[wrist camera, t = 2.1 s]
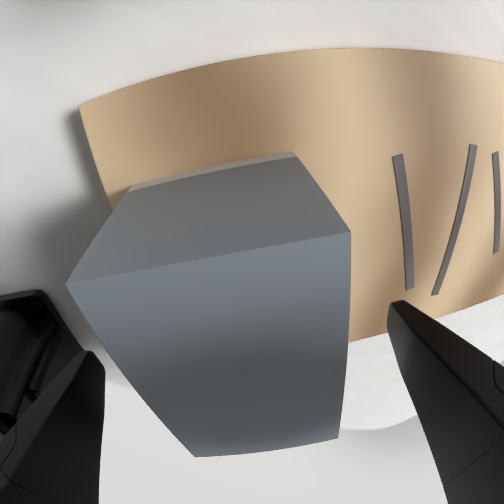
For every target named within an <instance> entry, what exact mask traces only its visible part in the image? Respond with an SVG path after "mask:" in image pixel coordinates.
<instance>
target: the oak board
mask: <svg viewBox="0 0 504 504" xmlns="http://www.w3.org/2000/svg"><path fill="white" fill-rule="evenodd" d="M78 107H79V110H80V114H81V118H82V121H83V125H84V128H85V132H86V135H87V138H88V142H89V145H90V148H91V151H92V155H93V158H94V161H95V164H96V167H97V170H98V173H99V176H100V179H101V182H102V185H103V187H104V190H105V193H106V196H107V199H108V201H109V204H110V207H111V209H112V212H113V210H114V209H115V208H116V206H117V205H118V204H119V202H120V201H121V200H122V198H123V197H124V196H125V194H126V193H127V192H128V190H129V189H130V188H131V186H132V185H134V184H138V183H142V182H146V181H150V180H153V179H157V178H161V177H166V176H170V175H174V174H178V173H182V172H187V171H191V170H196V169H200V168H205V167H209V166H214V165H219V164H224V163H229V162H234V161H239V160H244V159H250V158H255V157H261V156H267V155H273V154H279V153H285V152H291V151H293V152H294V153H295V154H296V156H297V157H298V158H299V159H300V161H301V162H302V163H303V165H304V166H305V167H306V169H307V170H308V171H309V173H310V174H311V175H312V177H313V178H314V180H315V181H316V182H317V184H318V185H319V186H320V188H321V189H322V190H323V192H324V193H325V195H326V196H327V197H328V199H329V200H330V202H331V203H332V205H333V206H334V207H335V209H336V210H337V212H338V213H339V215H340V216H341V217H342V219H343V220H344V222H345V223H346V225H347V226H348V228H349V229H350V231H351V295H350V319H349V337H348V342H352V341H356V340H360V339H364V338H368V337H372V336H376V335H380V334H384V333H387V332H388V330H387V325H386V322H387V316H388V309H389V305H390V303H391V302H394V301H398V300H405V301H407V302H408V303H410V304H411V305H413V306H414V307H416V308H418V309H419V310H421V311H422V312H424V313H425V314H427V315H428V316H430V317H431V318H433V319H435V318H438V317H441V316H444V315H447V314H450V313H453V312H456V311H459V310H462V309H465V308H468V307H471V306H473V305H476V304H479V303H482V302H484V301H487V300H490V299H492V298H495V297H497V296H500V295H503V294H504V64H502V63H497V62H493V61H488V60H483V59H478V58H472V57H467V56H460V55H454V54H447V53H439V52H430V51H419V50H406V49H387V48H336V49H316V50H303V51H292V52H282V53H274V54H266V55H259V56H252V57H246V58H240V59H234V60H229V61H224V62H219V63H214V64H209V65H204V66H200V67H196V68H191V69H187V70H183V71H179V72H175V73H172V74H168V75H164V76H161V77H157V78H154V79H151V80H147V81H144V82H141V83H138V84H135V85H132V86H129V87H126V88H123V89H120V90H117V91H114V92H112V93H109V94H106V95H103V96H101V97H98V98H96V99H93V100H91V101H88V102H86V103H83V104H81V105H78Z"/></svg>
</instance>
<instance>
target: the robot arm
mask: <svg viewBox="0 0 504 504" xmlns="http://www.w3.org/2000/svg"><path fill="white" fill-rule="evenodd" d="M386 325H387V330H388V334H389V337H390V340H391V343H392V346H393V349H394V352H395V356H396V359H397V362H398V366H399V369H400V372H401V375H402V377H403V380H404V382H405V385H406V387H407V389H408V392H409V394H410V397H411V399H412V402H413V404H414V407H415V409H416V412H417V414H418V417H419V419H420V422H421V424H422V427H423V430H424V432H425V435H426V438H427V441H428V443H429V446H430V449H431V452H432V455H433V457H434V460H435V463H436V466H437V469H438V472H439V475H440V478H441V481H442V484H443V488H444V491H445V495H446V498H447V501H448V504H504V367H503V366H502V365H501V364H499V363H498V362H496V361H495V360H493V361H492V358H490V357H489V356H488V355H486V354H485V353H483V352H482V351H480V350H479V349H477V348H476V347H475V346H473V345H472V344H470V343H469V342H467V341H466V340H464V339H463V338H461V337H460V336H458V335H457V334H455V333H454V332H452V331H451V330H449V329H448V328H446V327H445V326H443V325H442V324H440V323H439V322H437V321H436V320H434V319H433V318H431V317H430V316H428V315H427V314H425V313H424V312H422V311H421V310H419V309H418V308H416V307H414V306H413V305H411V304H410V303H408V302H407V301H405V300H398V301H394V302H391V303H390V305H389V309H388V316H387V322H386ZM104 406H105V368H104V366H103V365H102V363H101V362H100V361H99V359H98V358H97V357H96V355H95V354H94V353H93V352H92V351H84V350H83V349H82V347H81V346H80V345H79V343H78V342H77V340H76V339H75V338H74V336H73V335H72V333H71V332H70V330H69V329H68V327H67V326H66V324H65V323H64V321H63V320H62V318H61V317H60V315H59V314H58V312H57V311H56V309H55V307H54V306H53V304H52V303H51V301H50V299H49V298H48V296H47V295H46V294H45V293H44V292H43V291H40V290H33V291H27V292H22V293H17V294H11V295H6V296H1V297H0V504H99V473H100V457H101V444H102V433H103V423H104V408H105V407H104Z"/></svg>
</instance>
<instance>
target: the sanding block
mask: <svg viewBox="0 0 504 504" xmlns="http://www.w3.org/2000/svg"><path fill="white" fill-rule="evenodd" d="M65 286H66V287H67V289H68V291H69V293H70V294H71V296H72V298H73V299H74V301H75V303H76V305H77V306H78V308H79V310H80V311H81V313H82V314H83V316H84V318H85V319H86V321H87V322H88V324H89V326H90V327H91V329H92V330H93V332H94V333H95V335H96V336H97V338H98V339H99V341H100V342H101V344H102V345H103V347H104V348H105V349H106V351H107V352H108V354H109V355H110V357H111V358H112V359H113V361H114V362H115V364H116V365H117V366H118V368H119V369H120V370H121V372H122V373H123V374H124V376H125V377H126V378H127V380H128V381H129V382H130V384H131V385H132V386H133V387H134V389H135V390H136V391H137V393H138V394H139V395H140V396H141V397H142V399H143V400H144V401H145V402H146V404H147V405H148V406H149V407H150V408H151V409H152V411H153V412H154V413H155V414H156V415H157V417H158V418H159V419H160V420H161V421H162V422H163V424H164V425H165V426H166V427H167V428H168V429H169V430H170V431H171V432H172V434H173V435H174V436H175V437H176V438H177V439H178V440H179V441H180V442H181V443H182V444H183V445H184V446H185V447H186V448H187V449H188V450H189V452H190V453H191V454H192V455H194V457H208V456H223V455H224V456H225V455H236V454H247V453H256V452H264V451H272V450H279V449H285V448H291V447H297V446H302V445H308V444H313V443H318V442H323V441H328V440H332V439H336V438H338V433H339V427H340V420H341V412H342V403H343V395H344V385H345V375H346V364H347V351H348V337H349V319H350V295H351V231H350V229H349V228H348V226H347V225H346V223H345V222H344V220H343V219H342V217H341V216H340V215H339V213H338V212H337V210H336V209H335V207H334V206H333V205H332V203H331V202H330V200H329V199H328V197H327V196H326V195H325V193H324V192H323V190H322V189H321V188H320V186H319V185H318V184H317V182H316V181H315V180H314V178H313V177H312V175H311V174H310V173H309V171H308V170H307V169H306V167H305V166H304V165H303V163H302V162H301V161H300V159H299V158H298V157H297V156H296V154H295V153H294V152H293V151H291V152H285V153H279V154H273V155H267V156H261V157H255V158H250V159H244V160H239V161H234V162H229V163H224V164H219V165H214V166H209V167H205V168H200V169H196V170H191V171H187V172H182V173H178V174H174V175H170V176H166V177H161V178H157V179H153V180H150V181H146V182H142V183H138V184H134V185H132V186H131V188H130V189H129V190H128V192H127V193H126V194H125V196H124V197H123V198H122V200H121V201H120V202H119V204H118V205H117V206H116V208H115V209H114V210H113V212H112V213H111V215H110V216H109V217H108V219H107V220H106V222H105V223H104V224H103V226H102V227H101V229H100V230H99V232H98V233H97V235H96V236H95V237H94V239H93V240H92V242H91V243H90V245H89V246H88V248H87V249H86V251H85V253H84V254H83V256H82V257H81V259H80V260H79V262H78V263H77V265H76V267H75V268H74V270H73V271H72V273H71V275H70V276H69V278H68V280H67V281H66V283H65Z"/></svg>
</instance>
